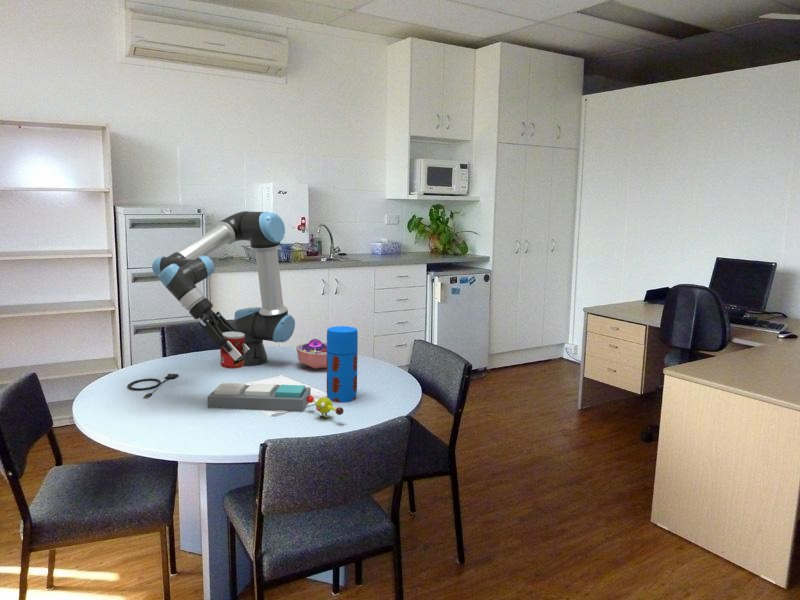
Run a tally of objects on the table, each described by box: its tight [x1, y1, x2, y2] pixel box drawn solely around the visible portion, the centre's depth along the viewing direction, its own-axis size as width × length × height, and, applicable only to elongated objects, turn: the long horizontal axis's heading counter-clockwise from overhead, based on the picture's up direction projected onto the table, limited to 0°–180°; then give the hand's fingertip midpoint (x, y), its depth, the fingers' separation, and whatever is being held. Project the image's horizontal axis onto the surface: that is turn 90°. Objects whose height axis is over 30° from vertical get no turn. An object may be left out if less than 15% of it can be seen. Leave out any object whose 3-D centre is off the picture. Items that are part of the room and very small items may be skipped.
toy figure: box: [306, 395, 344, 419], centre depth 205 cm, size 18×6×7 cm, turn 45°
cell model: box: [295, 338, 327, 370], centre depth 265 cm, size 17×20×11 cm
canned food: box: [220, 332, 245, 370], centre depth 214 cm, size 8×8×11 cm
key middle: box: [245, 383, 277, 396], centre depth 218 cm, size 8×8×4 cm
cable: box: [126, 373, 179, 399], centre depth 235 cm, size 14×28×2 cm, turn 177°
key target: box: [275, 384, 306, 398], centre depth 218 cm, size 8×8×4 cm
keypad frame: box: [206, 384, 312, 412], centre depth 218 cm, size 14×32×4 cm, turn 87°
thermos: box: [326, 325, 359, 403], centre depth 224 cm, size 11×11×25 cm
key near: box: [213, 382, 247, 395], centre depth 219 cm, size 8×8×4 cm
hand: (242, 354), depth 214 cm, fingers closed on canned food, 8 cm apart
